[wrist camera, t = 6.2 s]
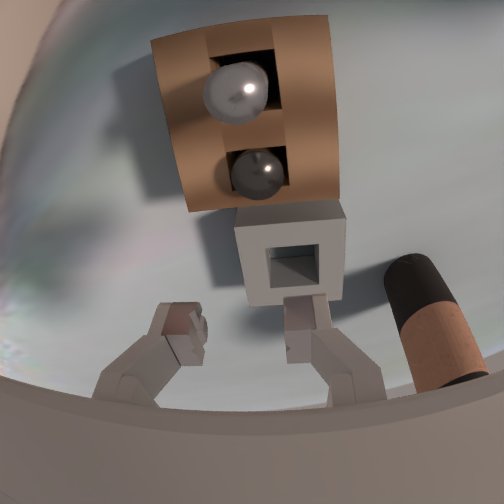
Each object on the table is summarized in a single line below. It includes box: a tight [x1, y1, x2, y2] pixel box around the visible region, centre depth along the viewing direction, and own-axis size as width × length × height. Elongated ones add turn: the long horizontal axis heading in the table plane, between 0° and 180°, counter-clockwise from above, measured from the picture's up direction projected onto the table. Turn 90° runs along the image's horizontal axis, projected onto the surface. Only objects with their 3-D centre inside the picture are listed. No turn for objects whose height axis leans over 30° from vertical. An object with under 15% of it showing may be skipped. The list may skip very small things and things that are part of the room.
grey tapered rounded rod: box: [203, 61, 268, 125], centre depth 19 cm, size 3×3×14 cm
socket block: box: [150, 15, 340, 212], centre depth 23 cm, size 14×12×7 cm
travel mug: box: [384, 254, 489, 394], centre depth 29 cm, size 8×8×20 cm
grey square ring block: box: [234, 199, 346, 307], centre depth 32 cm, size 10×10×5 cm
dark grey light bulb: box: [231, 147, 284, 200], centre depth 25 cm, size 4×4×8 cm
